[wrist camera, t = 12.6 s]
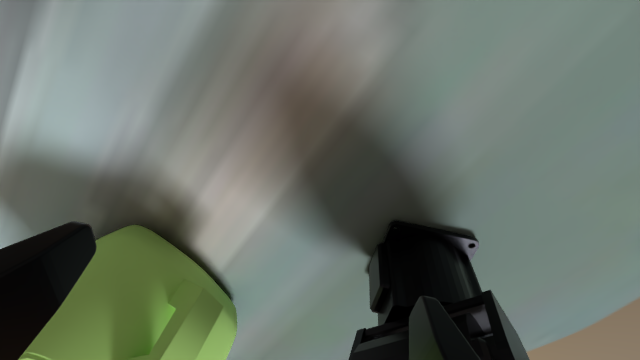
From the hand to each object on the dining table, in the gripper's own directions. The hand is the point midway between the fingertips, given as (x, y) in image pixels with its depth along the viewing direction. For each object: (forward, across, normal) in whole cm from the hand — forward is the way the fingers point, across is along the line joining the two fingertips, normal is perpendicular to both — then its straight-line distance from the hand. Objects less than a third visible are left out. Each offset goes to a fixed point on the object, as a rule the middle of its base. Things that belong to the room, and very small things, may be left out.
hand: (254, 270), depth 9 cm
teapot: (+13, +10, +21) cm, 27 cm away
